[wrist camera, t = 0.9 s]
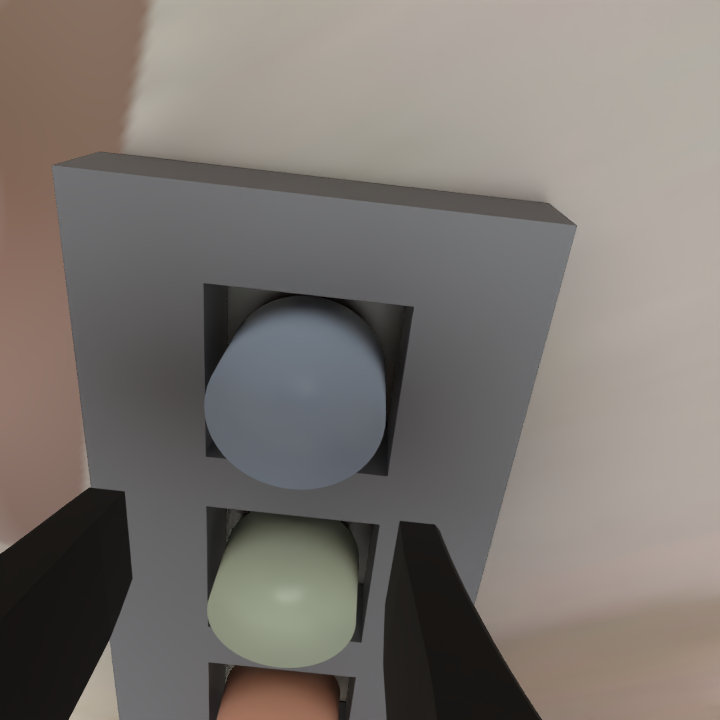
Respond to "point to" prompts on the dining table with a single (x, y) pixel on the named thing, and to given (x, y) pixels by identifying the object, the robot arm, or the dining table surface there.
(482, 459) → the button panel
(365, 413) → the button slate
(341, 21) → the dining table surface
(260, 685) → the button terracotta
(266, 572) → the button sage
